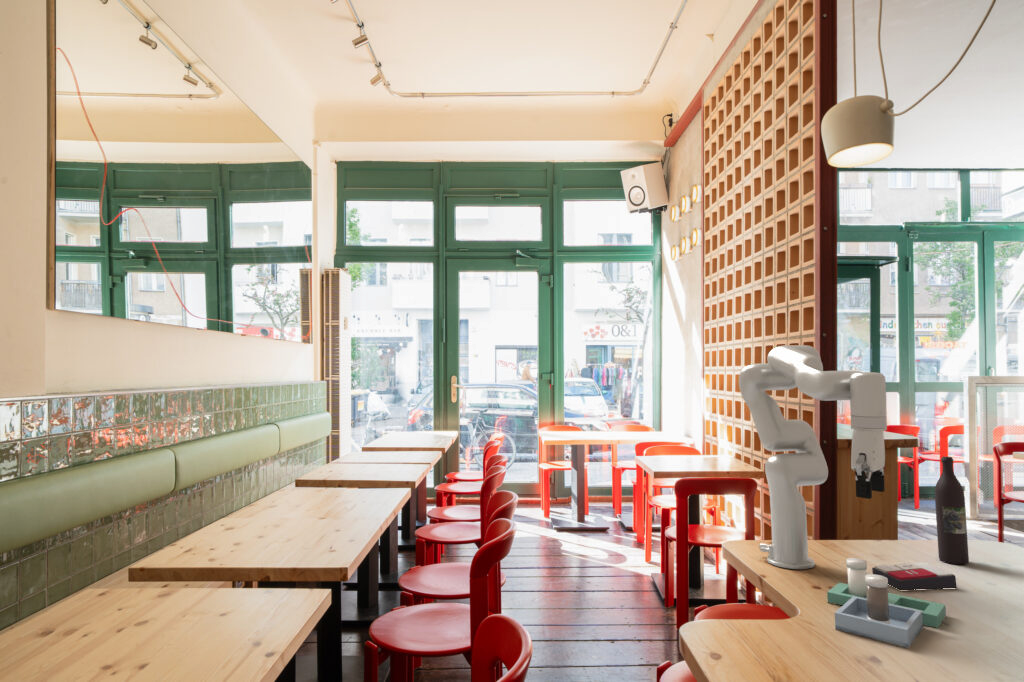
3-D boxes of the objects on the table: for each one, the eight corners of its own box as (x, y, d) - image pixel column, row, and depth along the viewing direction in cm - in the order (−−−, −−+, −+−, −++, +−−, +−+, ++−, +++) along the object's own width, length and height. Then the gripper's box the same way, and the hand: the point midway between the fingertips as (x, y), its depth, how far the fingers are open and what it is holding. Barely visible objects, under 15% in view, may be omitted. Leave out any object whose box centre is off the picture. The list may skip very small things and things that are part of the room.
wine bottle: (942, 563, 172) (935, 458, 174) (936, 557, 179) (929, 455, 181) (972, 566, 169) (965, 459, 171) (964, 559, 176) (957, 455, 178)
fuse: (846, 603, 144) (843, 560, 145) (852, 598, 147) (849, 556, 147) (865, 607, 141) (862, 564, 142) (871, 602, 144) (868, 560, 144)
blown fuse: (865, 625, 130) (862, 577, 130) (870, 619, 132) (868, 572, 133) (887, 630, 127) (884, 582, 127) (892, 624, 130) (889, 577, 130)
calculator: (871, 564, 162) (924, 559, 163) (872, 580, 162) (925, 575, 163) (899, 577, 151) (955, 572, 152) (901, 595, 151) (957, 589, 152)
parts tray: (835, 629, 130) (834, 612, 130) (854, 611, 139) (853, 596, 139) (908, 648, 120) (907, 630, 120) (923, 627, 130) (922, 610, 130)
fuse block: (827, 602, 145) (827, 591, 145) (839, 592, 151) (839, 582, 151) (937, 627, 129) (937, 616, 129) (946, 615, 136) (945, 604, 136)
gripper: (863, 419, 154) (865, 486, 153) (839, 425, 142) (841, 498, 142) (896, 421, 148) (898, 490, 148) (874, 427, 137) (876, 503, 136)
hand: (870, 494), depth 145 cm, fingers open, 9 cm apart
